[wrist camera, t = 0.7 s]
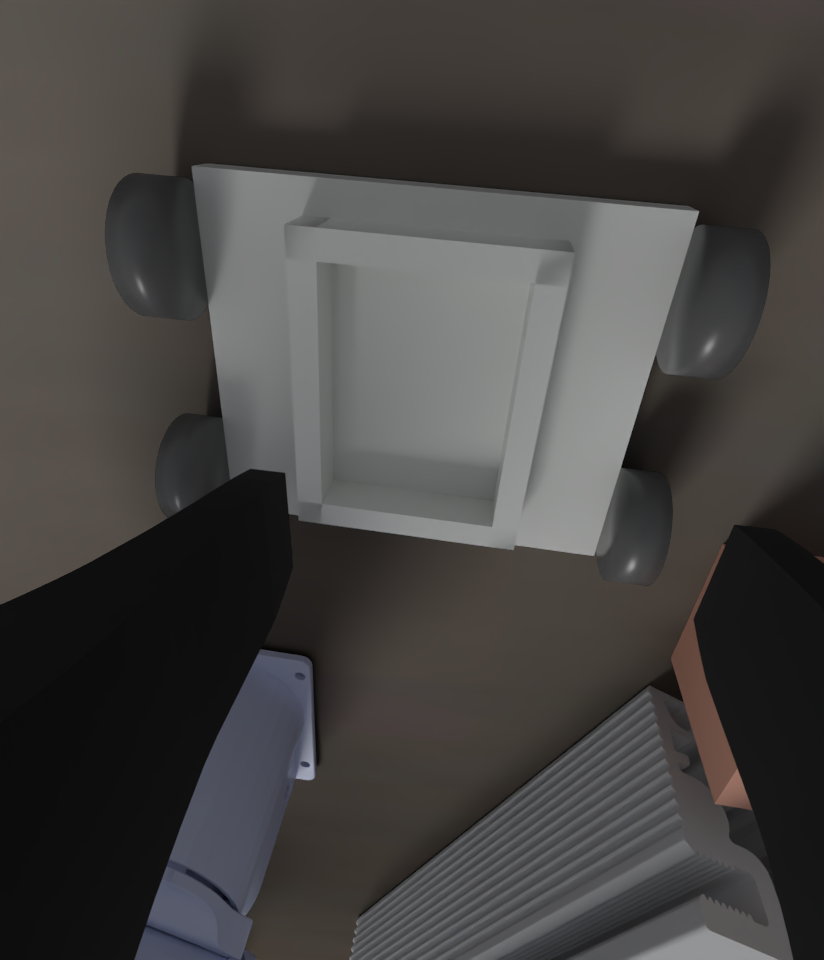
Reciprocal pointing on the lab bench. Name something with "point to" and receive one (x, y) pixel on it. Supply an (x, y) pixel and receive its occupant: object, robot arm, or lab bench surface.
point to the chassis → (435, 348)
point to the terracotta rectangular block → (707, 715)
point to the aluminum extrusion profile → (596, 863)
